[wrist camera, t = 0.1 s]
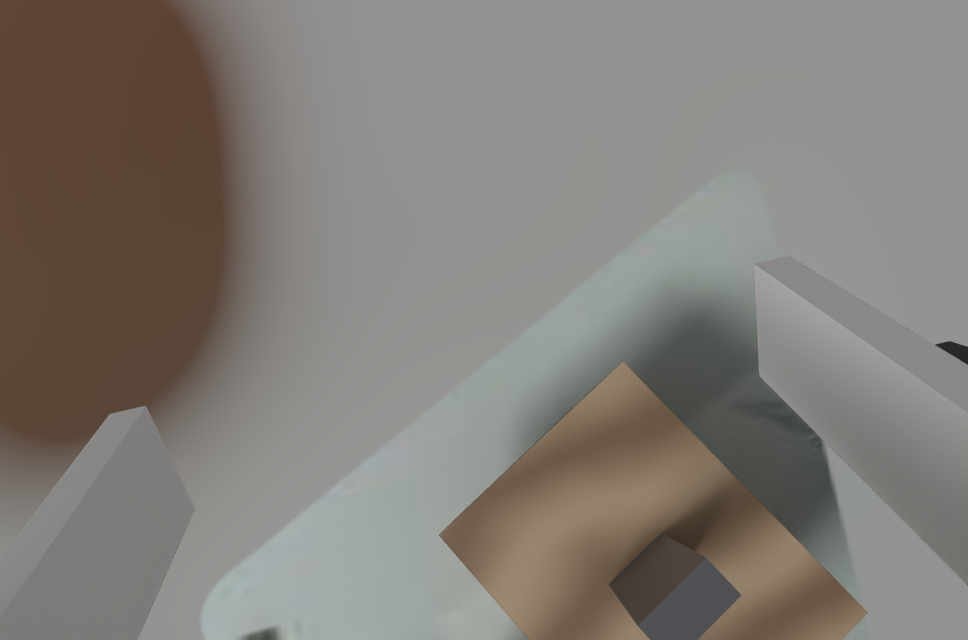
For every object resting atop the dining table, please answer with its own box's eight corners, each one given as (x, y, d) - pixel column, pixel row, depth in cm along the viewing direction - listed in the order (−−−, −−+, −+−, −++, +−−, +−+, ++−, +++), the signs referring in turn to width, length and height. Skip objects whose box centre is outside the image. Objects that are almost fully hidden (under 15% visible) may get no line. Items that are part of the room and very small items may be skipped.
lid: (843, 601, 39) (981, 664, 27) (665, 785, 38) (731, 933, 26) (616, 367, 42) (653, 334, 30) (444, 529, 41) (415, 560, 29)
